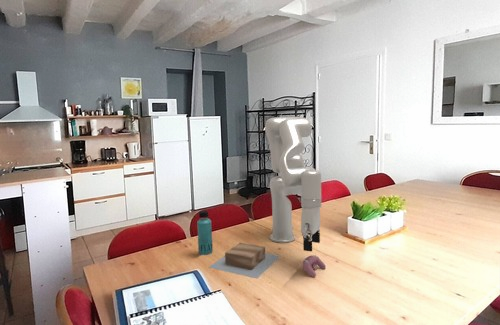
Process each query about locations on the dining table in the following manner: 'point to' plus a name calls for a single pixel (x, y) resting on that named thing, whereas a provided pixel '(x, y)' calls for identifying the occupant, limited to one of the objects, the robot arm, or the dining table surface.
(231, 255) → the walnut block
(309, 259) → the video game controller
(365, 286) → the dining table surface
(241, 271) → the base plate
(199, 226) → the beverage bottle
